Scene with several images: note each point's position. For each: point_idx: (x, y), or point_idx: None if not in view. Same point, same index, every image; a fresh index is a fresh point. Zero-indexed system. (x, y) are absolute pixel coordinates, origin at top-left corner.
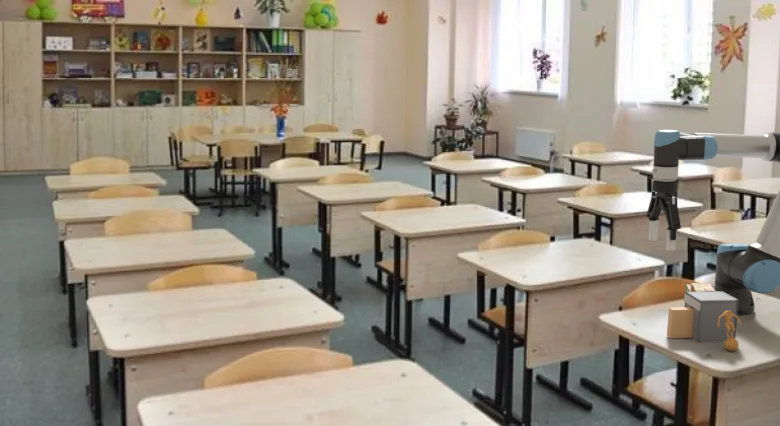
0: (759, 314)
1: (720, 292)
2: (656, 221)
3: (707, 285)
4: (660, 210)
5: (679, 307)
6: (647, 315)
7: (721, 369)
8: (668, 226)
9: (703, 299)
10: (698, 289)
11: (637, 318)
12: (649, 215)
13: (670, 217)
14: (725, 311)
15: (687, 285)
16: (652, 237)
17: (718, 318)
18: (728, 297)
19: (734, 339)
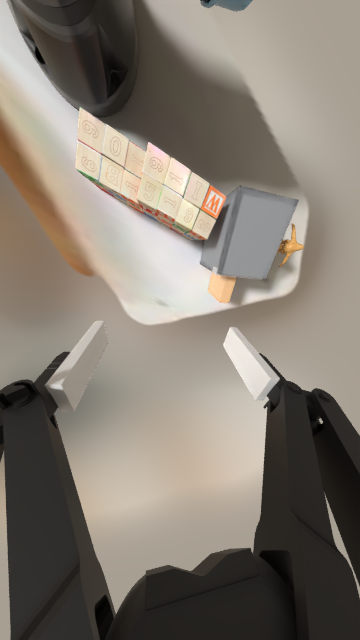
0: None
1: (245, 201)
2: (65, 390)
3: (163, 165)
4: (70, 501)
5: (223, 288)
6: (131, 272)
7: (293, 288)
8: (267, 412)
9: (262, 270)
10: (189, 219)
11: (143, 291)
12: (1, 441)
13: (321, 471)
14: (291, 250)
15: (87, 172)
16: (102, 343)
17: (282, 264)
18: (276, 210)
19: (282, 244)
